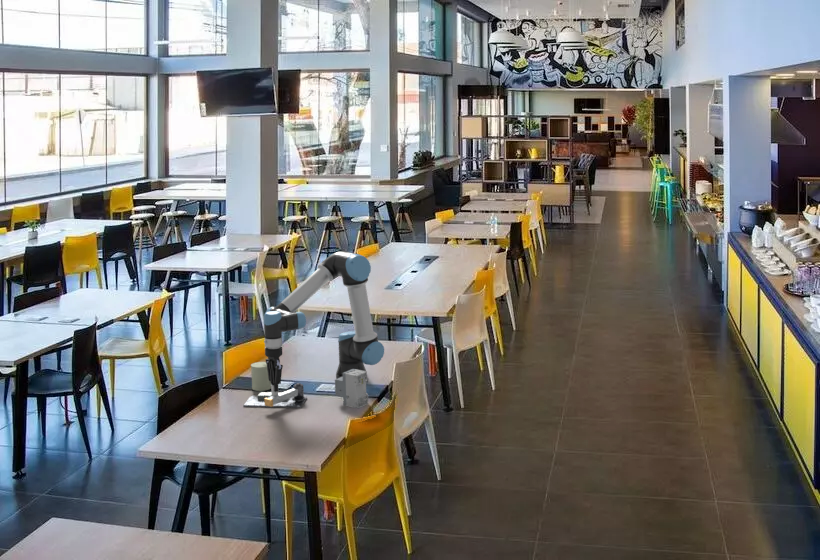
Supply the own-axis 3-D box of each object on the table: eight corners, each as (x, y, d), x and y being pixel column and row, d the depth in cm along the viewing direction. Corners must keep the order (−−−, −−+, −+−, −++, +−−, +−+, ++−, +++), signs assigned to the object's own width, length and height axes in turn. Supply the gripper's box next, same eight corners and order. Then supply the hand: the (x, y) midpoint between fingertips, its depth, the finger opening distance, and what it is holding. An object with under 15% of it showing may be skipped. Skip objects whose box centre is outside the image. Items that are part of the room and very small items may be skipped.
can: (262, 392, 438) (261, 367, 435) (247, 389, 442) (246, 364, 440) (275, 386, 445) (274, 362, 443) (260, 383, 450) (259, 359, 448)
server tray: (306, 398, 427) (306, 392, 427) (300, 408, 415) (300, 401, 414) (251, 397, 430) (251, 391, 430) (243, 406, 418) (243, 400, 417)
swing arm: (298, 395, 428) (298, 381, 426) (305, 397, 425) (305, 383, 424) (264, 409, 410) (263, 394, 409) (271, 410, 408) (271, 396, 406)
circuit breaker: (343, 398, 427) (342, 366, 424) (368, 403, 419) (367, 371, 416) (332, 402, 421) (331, 370, 418) (358, 408, 413) (357, 375, 410)
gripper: (259, 344, 414) (261, 395, 419) (271, 351, 403) (273, 403, 408) (275, 342, 418) (276, 392, 423) (287, 348, 407) (289, 400, 412)
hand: (275, 397), depth 415 cm, fingers closed
